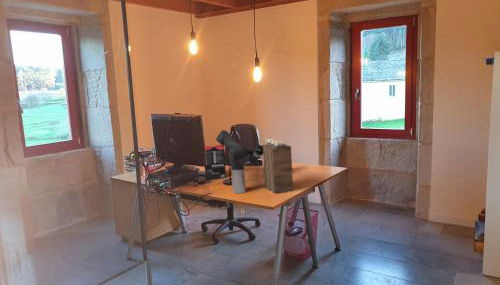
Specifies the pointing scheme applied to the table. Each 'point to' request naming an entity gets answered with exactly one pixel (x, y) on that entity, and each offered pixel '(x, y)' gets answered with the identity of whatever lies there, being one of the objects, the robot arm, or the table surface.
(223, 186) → the table surface
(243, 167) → the robot arm
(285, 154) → the walnut cabinet
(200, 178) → the table surface
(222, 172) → the graphics card box
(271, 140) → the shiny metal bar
